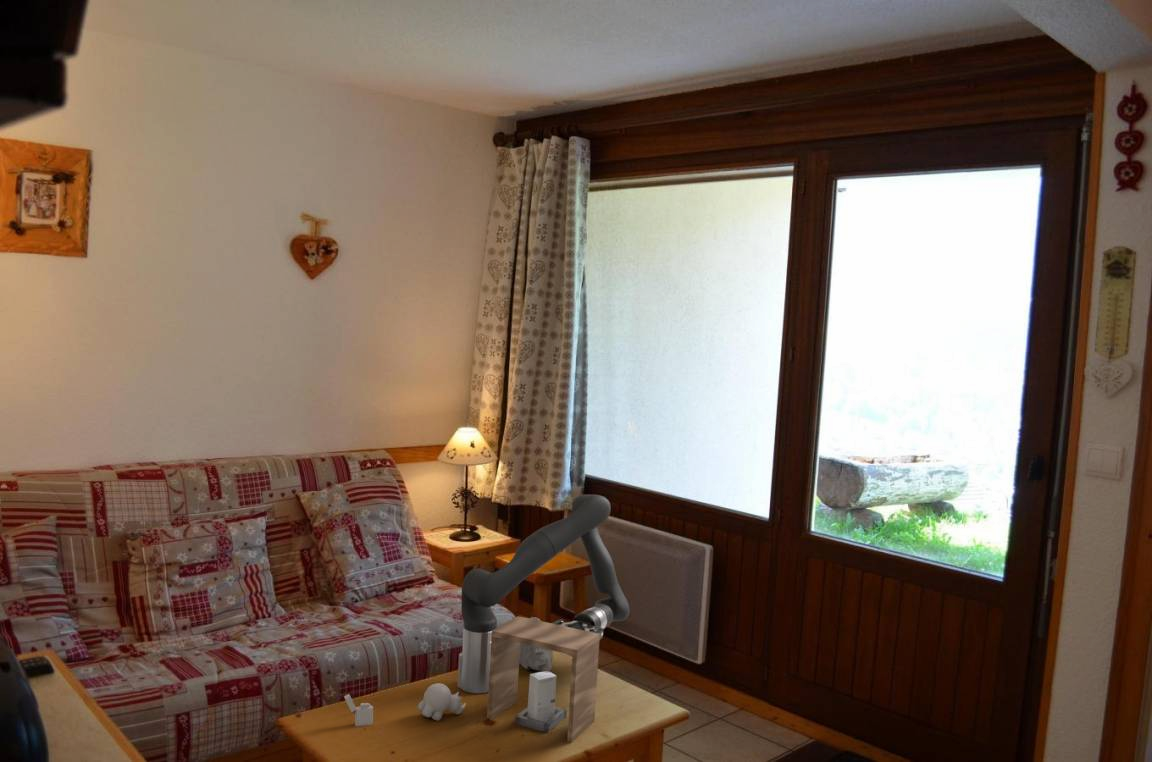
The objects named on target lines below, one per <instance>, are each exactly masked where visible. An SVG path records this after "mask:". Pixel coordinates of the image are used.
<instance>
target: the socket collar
mask: <svg viewBox="0 0 1152 762" xmlns="http://www.w3.org/2000/svg"><path fill="white" fill-rule="evenodd" d="M527 712H528V706H527V707H526V708H525V709H523V710H521V712H519V713H517V715H515V718H514V719H515V720H514V723H515V725H517V724H518V726H520V725H521V726H520V727H525V728H529V729H531V728H532V730H535V731H539V730H540V731H539V732H542V731H543V733H546V732H547V734H548V733H549V732H551V729H552V728H553V729H554V728H555V727H557V726H558V723H559V722H560V721H561V722H562V721H563V720H564V719H566V718H567V709H566V708H562V707H559V706H558V707H557V706H555V711H554V716H553V717H552V718H551V719H549V720H548V721H547V722H543V721H539V720H535V719H532V718H528V717H527ZM565 717H566V718H565ZM561 722H560V723H561ZM560 723H559V724H560ZM553 729H552V730H553Z"/></svg>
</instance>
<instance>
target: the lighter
mask: <svg viewBox="0 0 1152 762" xmlns="http://www.w3.org/2000/svg"><path fill="white" fill-rule="evenodd" d="M343 697H344V699H345V701H346V704H347V706H348V708H349V710H350V711H351V713H353V712H354V711H355V712H354V713H355V715H354V718H355V719H354V725H355V727H364V726H371V725H373V722H374V720H373V719H374V718H373V717H374V707H373V705H371V704H370V703H368V702H361V703H360V704H359V705H360V706H356V705H355V703H354V700H353V698H352V697H351V695H350V693H348V694H346V695H344V696H343Z"/></svg>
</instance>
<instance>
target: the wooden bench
mask: <svg viewBox="0 0 1152 762" xmlns="http://www.w3.org/2000/svg"><path fill="white" fill-rule="evenodd" d="M529 618H530V617H523V616H518V615H517V616H516V617H513V618H512V619H510V620H509V621H506V622H505V623H503V624H501V625H499V626H498V627H497V628H496V629H494V630H492V634H491V653H490V671H489V690H488V692H487V694H488V695H487V712H486V714H487V715H486V720H487V719H489V720H488V721H492V720H493V718H494V717H495V718H496V717H498V716H499V715H500V714H502V713H503V712H505V711H506V710H507V709H508V707H509V708H510V707H512V706H513V705H514V704H515V703H517V701H518V689H519V673H520V672H519V671H520V664H519V656H520V643H522V644H526V645H531V646H535V647H539V648H544V649H548V650H553V652H557V653H563V654H566V655H570V656H572V657H571V672H570V689H569V706H568V721H567V722H568V725H567V742H568V743H571V744H572V743H573V742H574V741H575V740H576V739H577V738H579V736H580V735H582V734H583V733H584V732H585V731H586V730H587V729H588V728H589V727H590V726H592V724H593V723H594V722H595V718H596V717H595V716H596V700H597V699H596V698H597V686H598V683H597V682H598V671H599V670H598V667H599V654H600V652H599V651H600V640H599V638H600V634H598V633H593V632H589V631H584V630H580V629H575V628H570V627H566V626H561V625H556V624H552V623H553V622H551V623H550V622H546V621H542V620H540V621H538V620H533V619H529ZM512 704H513V705H512ZM505 709H506V710H505ZM501 712H502V713H501ZM497 715H498V716H497ZM495 718H494V719H495ZM491 719H492V720H491Z"/></svg>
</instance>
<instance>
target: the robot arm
mask: <svg viewBox="0 0 1152 762" xmlns="http://www.w3.org/2000/svg"><path fill="white" fill-rule="evenodd" d="M611 507H612V506H611V502H610V501H609V499H607V498H606V497H605V496H602V495H599V494H581V495H578V496H577V497H575V498H574V499H573V502H572V505H571V513H572V514H570V515H568V516H567V517H566V516H565V517H564V518H562V519H560V520H557V521H554V522H552V523H550V524H547V525H545V526H543V527H541V528H539V529H537V530H536V531H534V532H533V533H531V534H530V535H529V536H527V537H526V538H525V539H524V540H523V541H522V542H520V544H519V545H518V548H517V549H516V551H515V553H514V555H513V556H512V559H511V560H510V561H509V562H508V563H506V564H505V565H504V566H503V567H500V569H498V570H496V571H495V572H490V571H487V570H485V569H483V568H474V569H471V570H470V571H468V572H467V573H466V575H465V576H464V579H463V581H462V585H461V617H462V621H463V629H462V630H463V632H462V651H461V652H460V653H459V655H458V668H457V669H458V671H457V673H458V674H457V688H460V689H461V690H462V691H464V692H466V693H470V694H485V693H488V690H489V671H490V653H491V634H492V630H494V629H496V628H498V627H497V623H498V620H497V617H496V615H495V614H494V612H493V610H492V608H491V607H494V606H495V605H498V604H499V603H500V602H501V601H502V600H503V599H505V598H506V597H507V595H509V593H511V592H512V591H513V590H514V589H515V588H516V587H517V586H518V585H519V584H521V583H522V582H523V581H524V580H526V579H527V578H528V577H530V576H531V575H532V574H534V573H535V572H536V571H537V570H539V569H540V568H541V567H543V566H544V565H546V564H547V563H549V562H550V561H551V560H552V559H553V558H556V556H558V555H559V554H560V553H561V552H563V551H564V550H566V549H567V548H568V547H569V546H571V545H572V544H573V543H574V542H575V541H577V540H578V539H580V538H581V541H582V543H583V546H584V549H585V552H586V555H587V558H588V562H589V565H590V571H591V573H592V579H593V582H594V586H595V590H596V591H597V593H601V594H607V595H608V596H609V597H605V598H604V597H603V598H600V599H598V600H596V601H595V603H594V605H593V606H592V607H590V608H587V609H585V610H583V611H581V612H580V613H578V614H576V615H575V616H574V618H573V619H572V621H567V622H565V621H564V619H562V618H560V619H558V620H556V621H554V622H551V623H552V624H556V625H561V626H566V627H570V628H575V629H580V630H584V631H589V632H593V633H598V634H600V638H599V641H600V640H601V639H603V635H604V629H606V628H607V627H609V626H610V625H611V624H612V622H620V621H621V622H622V621H625V620H627V619H628V617H629V615H630V605H629V602H628V600H627V598H626V596H625V594H624V592H623V590H622V588H621V586H620V583H619V582H618V581H619V580H618V578H617V574H616V569H615V565H614V561H613V559H612V557H611V554H610V553H609V551H608V549H607V547H606V546H605V544H604V542H603V541H602V537H601V536H600V535H601V534H600V533H599V532H600V531H599V530H598V527H599V526H601V525H602V524H604V523H605V522H606V521H607V520H608V518H609V517H610V514H611Z"/></svg>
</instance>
